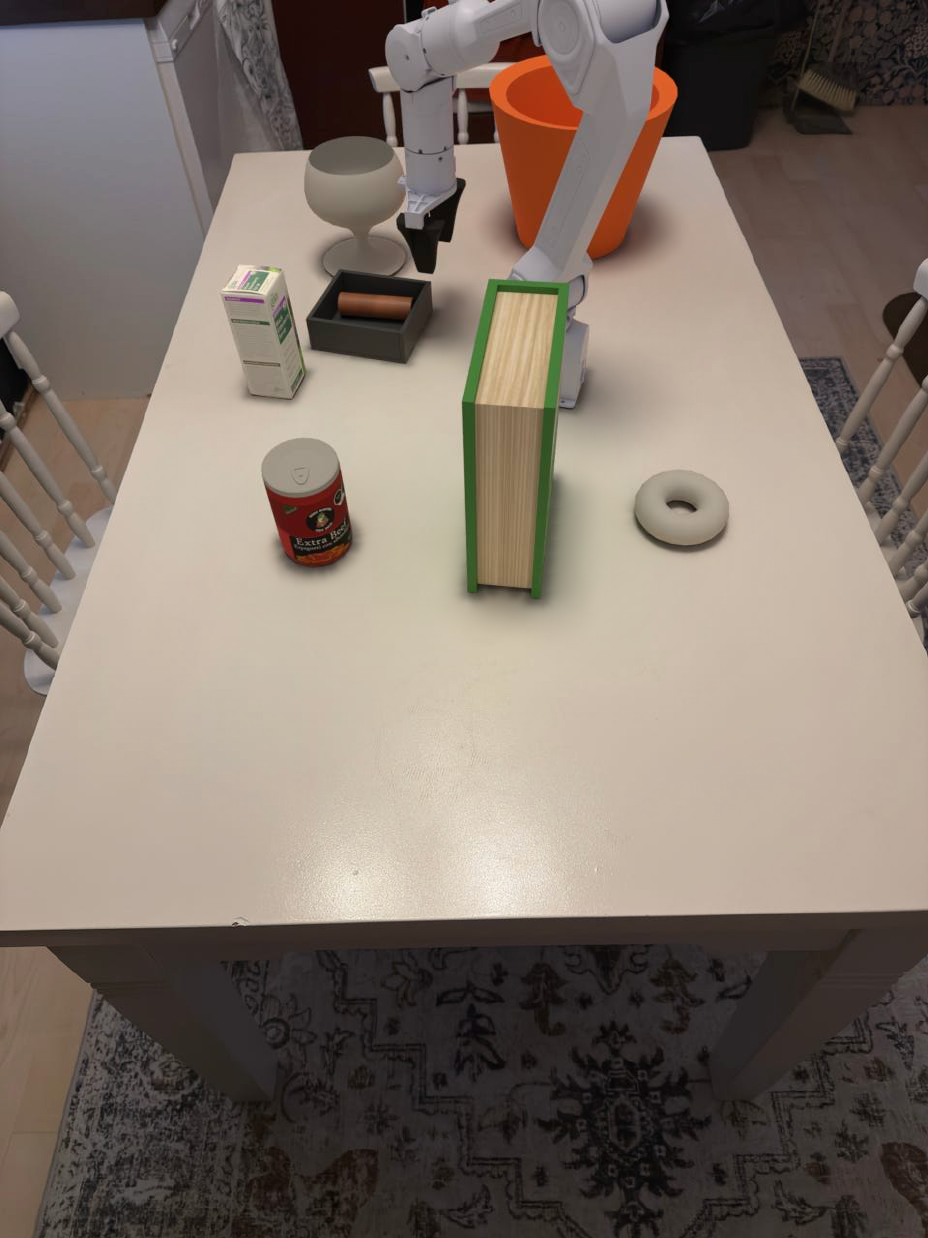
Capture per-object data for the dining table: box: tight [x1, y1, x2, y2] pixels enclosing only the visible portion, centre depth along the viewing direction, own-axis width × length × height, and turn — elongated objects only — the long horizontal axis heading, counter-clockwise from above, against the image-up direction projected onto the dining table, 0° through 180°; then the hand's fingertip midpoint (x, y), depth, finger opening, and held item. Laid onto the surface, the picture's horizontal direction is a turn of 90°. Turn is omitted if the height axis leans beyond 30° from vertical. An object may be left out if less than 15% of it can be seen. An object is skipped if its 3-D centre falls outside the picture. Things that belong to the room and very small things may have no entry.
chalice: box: [303, 135, 406, 277], centre depth 117 cm, size 14×14×15 cm
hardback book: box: [461, 278, 570, 600], centre depth 80 cm, size 18×7×24 cm, turn 172°
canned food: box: [260, 437, 353, 567], centre depth 85 cm, size 8×8×11 cm
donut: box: [634, 469, 730, 546], centre depth 89 cm, size 10×4×10 cm
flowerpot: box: [488, 54, 678, 260], centre depth 119 cm, size 25×25×20 cm
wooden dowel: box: [338, 292, 415, 321], centre depth 113 cm, size 10×3×3 cm
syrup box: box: [220, 264, 307, 400], centre depth 101 cm, size 6×6×14 cm
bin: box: [305, 269, 434, 364], centre depth 111 cm, size 13×12×4 cm
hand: (434, 255), depth 106 cm, fingers open, 7 cm apart
